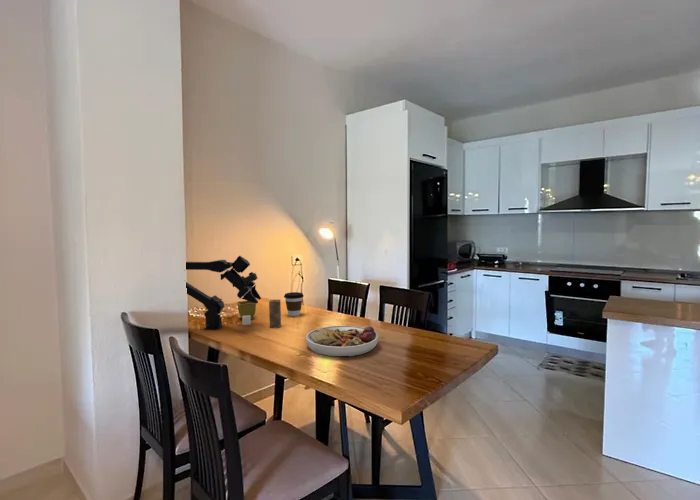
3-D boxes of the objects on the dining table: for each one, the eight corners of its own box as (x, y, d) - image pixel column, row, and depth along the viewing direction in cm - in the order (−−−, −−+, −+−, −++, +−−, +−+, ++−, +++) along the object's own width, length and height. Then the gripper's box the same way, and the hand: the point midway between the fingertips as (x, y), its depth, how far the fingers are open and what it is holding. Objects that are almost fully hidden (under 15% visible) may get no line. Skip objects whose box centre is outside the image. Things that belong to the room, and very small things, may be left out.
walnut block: (269, 327, 187) (269, 301, 186) (270, 324, 192) (270, 299, 191) (279, 327, 187) (279, 301, 186) (280, 324, 192) (280, 299, 191)
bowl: (312, 363, 140) (312, 342, 139) (301, 339, 169) (301, 322, 168) (388, 355, 148) (388, 335, 147) (365, 333, 177) (365, 317, 176)
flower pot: (237, 317, 208) (236, 301, 207) (253, 315, 211) (253, 299, 211) (239, 321, 200) (239, 304, 199) (256, 319, 203) (256, 302, 203)
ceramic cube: (242, 325, 192) (242, 317, 191) (242, 323, 196) (242, 315, 195) (250, 324, 193) (250, 317, 192) (250, 322, 197) (250, 315, 196)
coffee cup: (283, 313, 216) (282, 292, 215) (302, 312, 219) (301, 291, 218) (285, 318, 205) (285, 296, 204) (305, 316, 209) (305, 295, 208)
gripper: (243, 270, 177) (267, 292, 179) (250, 265, 196) (272, 286, 197) (226, 287, 177) (251, 309, 179) (235, 280, 196) (257, 301, 197)
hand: (259, 300), depth 188 cm, fingers open, 9 cm apart
